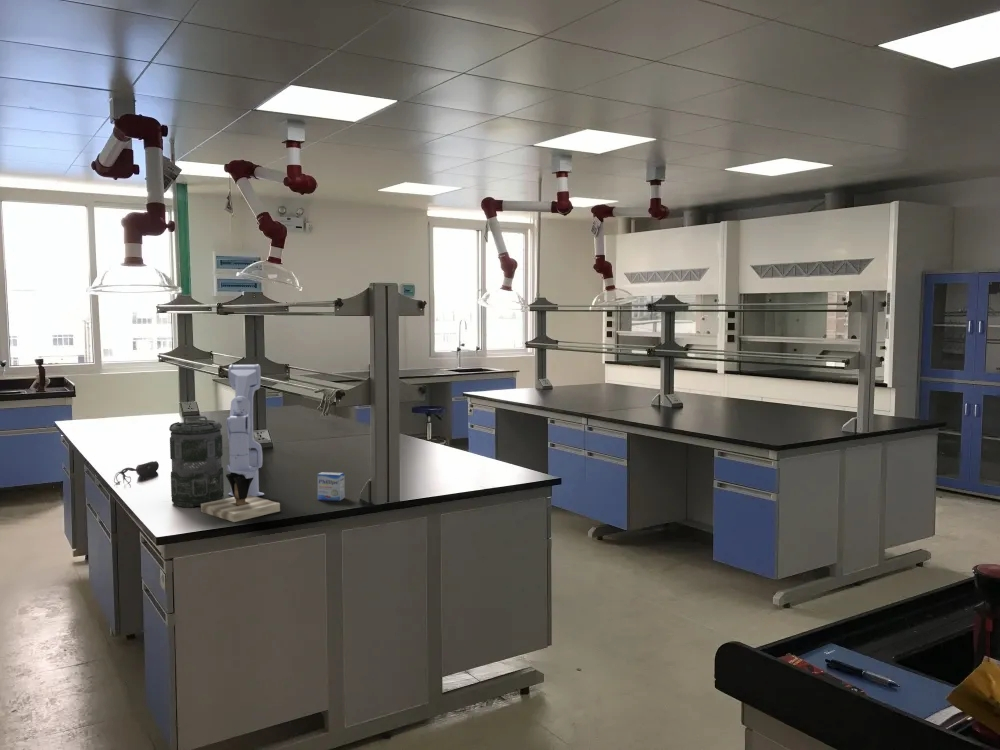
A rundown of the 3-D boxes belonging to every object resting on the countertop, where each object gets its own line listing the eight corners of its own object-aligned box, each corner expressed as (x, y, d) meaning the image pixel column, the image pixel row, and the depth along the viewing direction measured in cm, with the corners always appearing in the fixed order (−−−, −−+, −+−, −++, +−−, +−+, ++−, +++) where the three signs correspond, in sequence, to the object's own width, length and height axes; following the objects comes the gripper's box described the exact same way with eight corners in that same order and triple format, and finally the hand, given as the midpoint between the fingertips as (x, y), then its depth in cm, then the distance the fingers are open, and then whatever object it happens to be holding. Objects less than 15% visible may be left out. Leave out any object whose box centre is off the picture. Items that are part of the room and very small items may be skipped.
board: (201, 511, 240) (200, 503, 239) (246, 501, 252) (246, 494, 252) (234, 522, 228) (233, 513, 228) (280, 511, 241) (279, 503, 241)
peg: (232, 505, 240) (232, 483, 240) (244, 503, 243) (243, 481, 242) (237, 507, 238) (237, 485, 237) (248, 506, 240) (248, 483, 240)
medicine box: (317, 500, 255) (316, 474, 254) (322, 496, 259) (322, 471, 259) (340, 501, 254) (339, 475, 253) (345, 497, 258) (344, 472, 257)
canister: (230, 495, 260) (228, 412, 257) (214, 508, 244) (212, 419, 242) (182, 496, 259) (179, 412, 257) (163, 508, 244) (160, 419, 241)
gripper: (261, 455, 236) (262, 499, 237) (241, 449, 247) (242, 491, 248) (239, 458, 231) (240, 503, 232) (219, 451, 242) (221, 494, 243)
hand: (240, 497), depth 240 cm, fingers closed on peg, 3 cm apart
